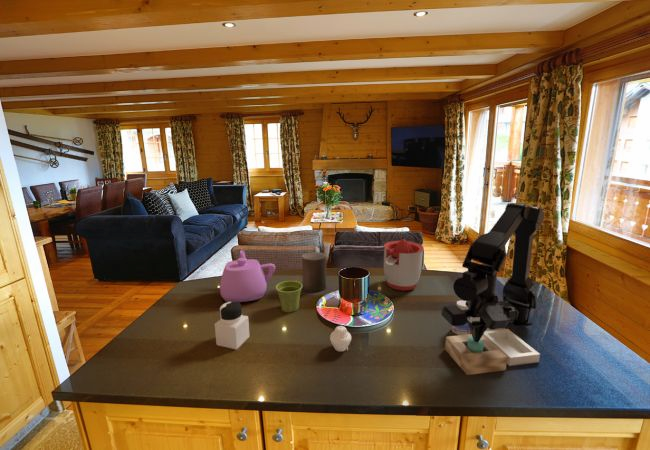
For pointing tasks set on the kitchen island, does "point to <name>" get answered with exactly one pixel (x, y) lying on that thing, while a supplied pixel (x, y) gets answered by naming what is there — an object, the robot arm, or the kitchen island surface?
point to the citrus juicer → (402, 264)
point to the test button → (475, 345)
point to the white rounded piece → (340, 338)
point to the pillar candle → (314, 271)
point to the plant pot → (289, 295)
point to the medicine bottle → (232, 326)
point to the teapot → (244, 279)
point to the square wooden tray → (475, 355)
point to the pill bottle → (463, 328)
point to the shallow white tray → (512, 347)
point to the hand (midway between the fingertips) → (476, 341)
